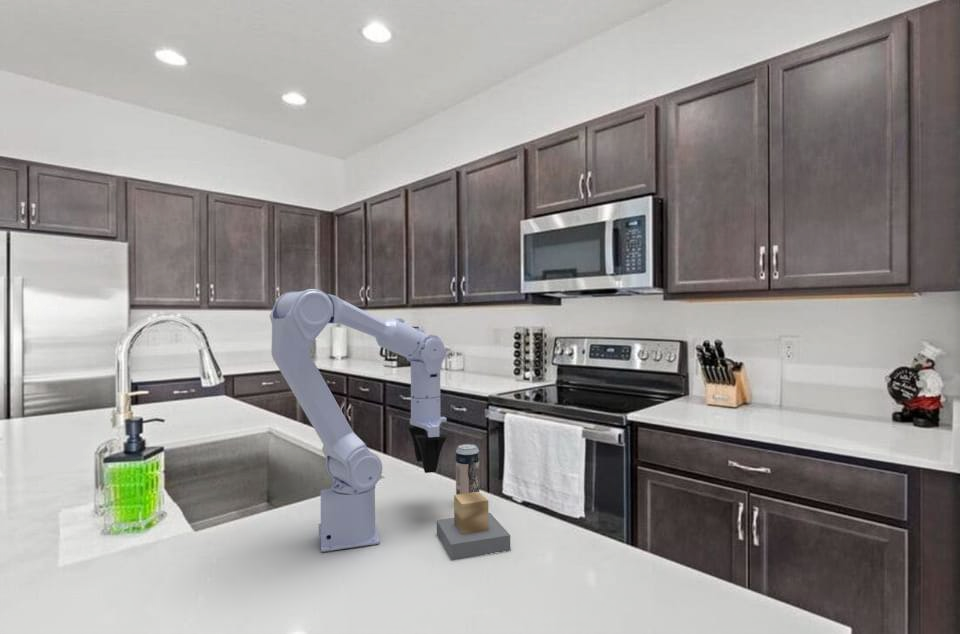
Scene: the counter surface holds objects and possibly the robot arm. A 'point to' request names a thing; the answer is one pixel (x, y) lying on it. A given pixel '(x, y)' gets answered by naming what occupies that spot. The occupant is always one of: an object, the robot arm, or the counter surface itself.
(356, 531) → the robot arm
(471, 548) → the charcoal base
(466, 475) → the beer can
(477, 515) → the oak block
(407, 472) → the counter surface
